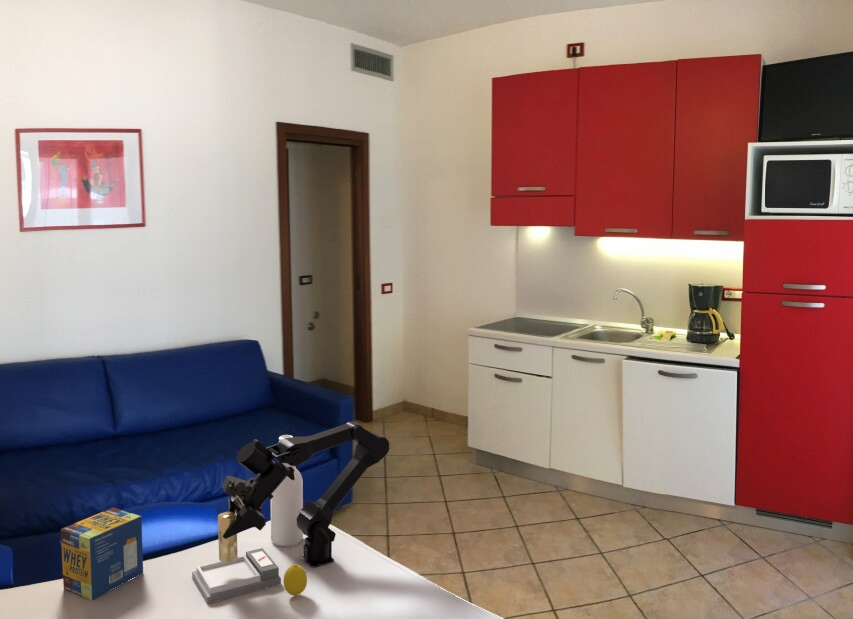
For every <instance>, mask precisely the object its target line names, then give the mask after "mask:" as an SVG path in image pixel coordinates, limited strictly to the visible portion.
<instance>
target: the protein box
mask: <svg viewBox="0 0 853 619" xmlns="http://www.w3.org/2000/svg"><path fill="white" fill-rule="evenodd" d="M142 520H143V518H142V516H141V515H139V514H135V513H131V512H128V511H126V510H122V509H120V508H116V507H111V508H109V509H106V510H104V511H102V512H99V513H97V514H94V515H92V516H90V517H87V518H84V519H82V520H79V521H77V522H75V523H73V524H70V525H67V526H65V527H62V528H60V538H61V539H60V543H61V544H60V545H61V563H62V564H61V565H62V579H63V581H62V582H63V590H64V591H67V592H70V593H72V594H75V595H77V596H79V597H82V598H84V599H87V600H89V599H90V600H89V601H94V600H95V599H97V598H99V597H101V596H103V595H105V594H107V593H108V591H109V590H111V589H113V588H115V587H116V588H118V587H120V586H122V585H123V584H122V583H124V584H126V583H128V582H129V581H128V580H130V579H132V578H134V577H136V576H137V577H139V576H141V575H143V574H144V560H143V559H144V555H143V552H144V551H143V549H144V548H143V526H142ZM142 573H143V574H142ZM140 574H141V575H140ZM138 575H139V576H138ZM137 577H136V578H137ZM134 579H135V578H134ZM132 580H133V579H132ZM127 581H128V582H127ZM130 581H131V580H130ZM125 582H126V583H125ZM121 584H122V585H121ZM119 585H120V586H119ZM117 586H118V587H117ZM116 588H115V589H116ZM113 590H114V589H113ZM111 591H112V590H111ZM106 592H107V593H106ZM109 592H110V591H109ZM104 593H105V594H104ZM102 594H103V595H102Z"/></svg>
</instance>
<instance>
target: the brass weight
mask: <svg viewBox="0 0 853 619" xmlns="http://www.w3.org/2000/svg"><path fill="white" fill-rule="evenodd" d="M234 518H235V513H234V512H227V511H225V512H221V513H219V514H217V531H218V533H217V534H218V538H217V539H218V558H219V559H218V561H221V562H232V561H235V560H236V559H237V558H238V556H239V554H238V553H239V552H238V533H237V534H235V535H233V536H231V537H229V538H227V539H225V538H223V534H224V533H225V531H226V530H227V528H228V527H229V525H230V524H231V522H232V521H233V520H234Z"/></svg>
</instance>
